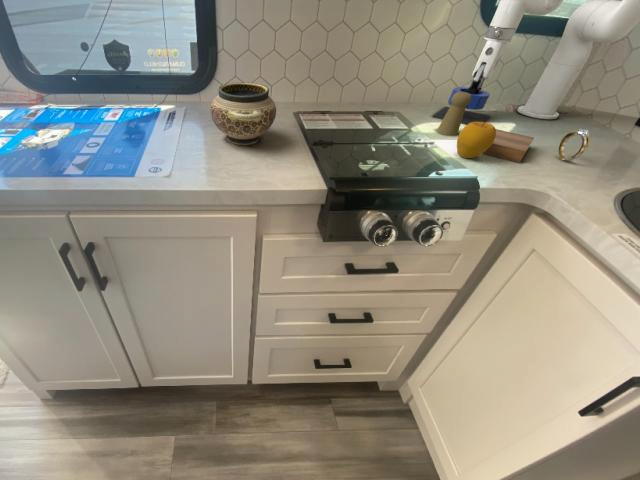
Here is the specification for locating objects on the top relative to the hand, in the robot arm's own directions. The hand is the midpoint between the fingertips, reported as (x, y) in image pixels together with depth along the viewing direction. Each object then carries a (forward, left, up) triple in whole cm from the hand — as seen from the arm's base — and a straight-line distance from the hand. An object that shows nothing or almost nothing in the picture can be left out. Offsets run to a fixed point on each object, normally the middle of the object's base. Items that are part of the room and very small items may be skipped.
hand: (469, 100), depth 120 cm
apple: (+41, +11, -5) cm, 43 cm away
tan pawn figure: (+24, +1, -5) cm, 25 cm away
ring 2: (+24, +32, -5) cm, 41 cm away
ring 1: (+4, 0, -1) cm, 4 cm away
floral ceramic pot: (+74, -42, -5) cm, 85 cm away
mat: (+4, 0, -4) cm, 6 cm away
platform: (+28, +16, -4) cm, 33 cm away
